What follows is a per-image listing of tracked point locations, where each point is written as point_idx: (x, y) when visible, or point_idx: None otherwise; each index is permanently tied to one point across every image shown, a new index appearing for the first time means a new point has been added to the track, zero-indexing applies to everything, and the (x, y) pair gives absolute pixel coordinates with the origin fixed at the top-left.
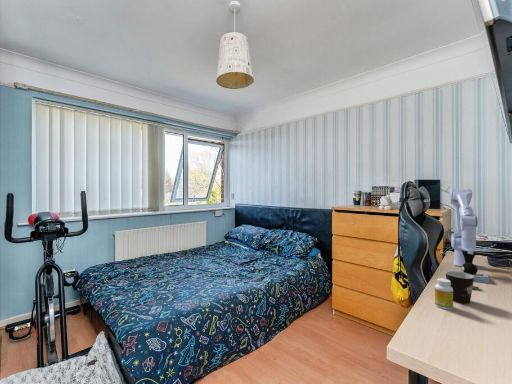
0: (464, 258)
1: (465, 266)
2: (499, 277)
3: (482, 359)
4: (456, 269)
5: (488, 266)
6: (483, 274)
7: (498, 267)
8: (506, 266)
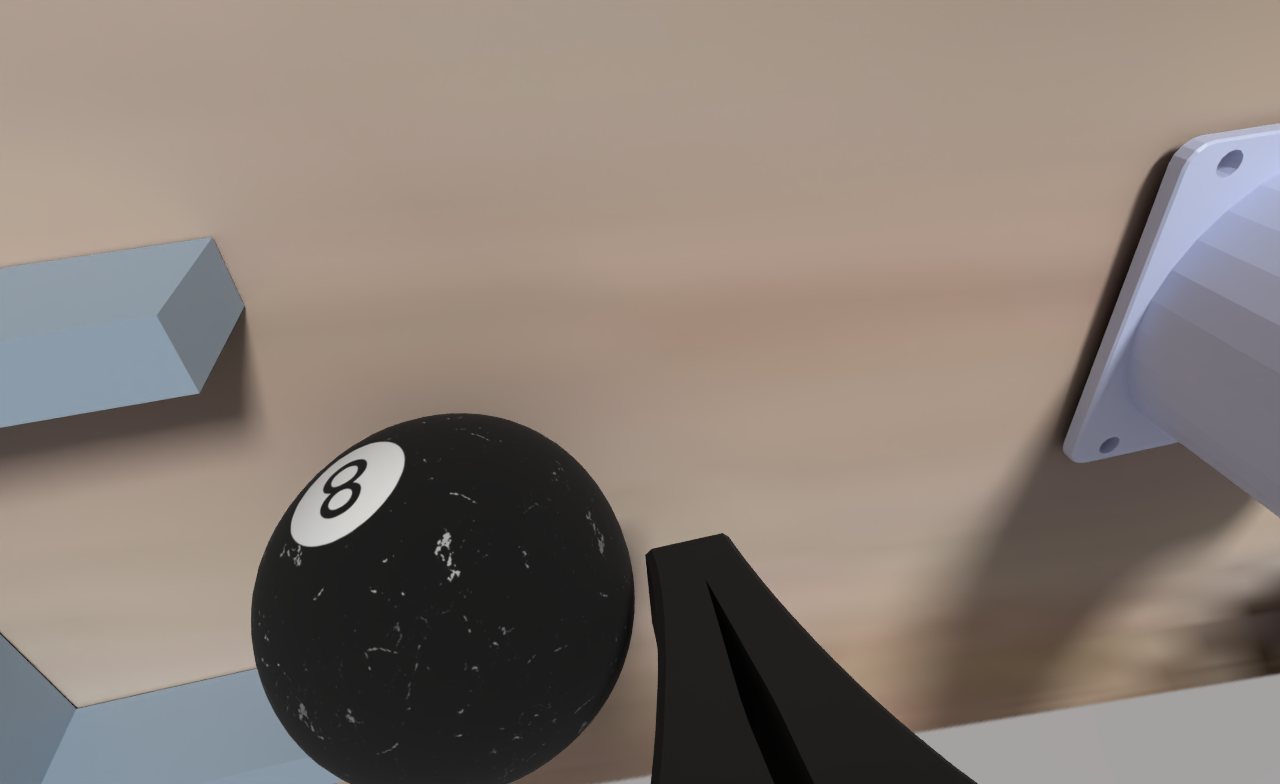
0: (776, 702)
1: (274, 622)
2: (634, 733)
3: None
4: (87, 344)
5: (1230, 572)
6: (245, 766)
7: (1196, 641)
8: (1259, 672)
